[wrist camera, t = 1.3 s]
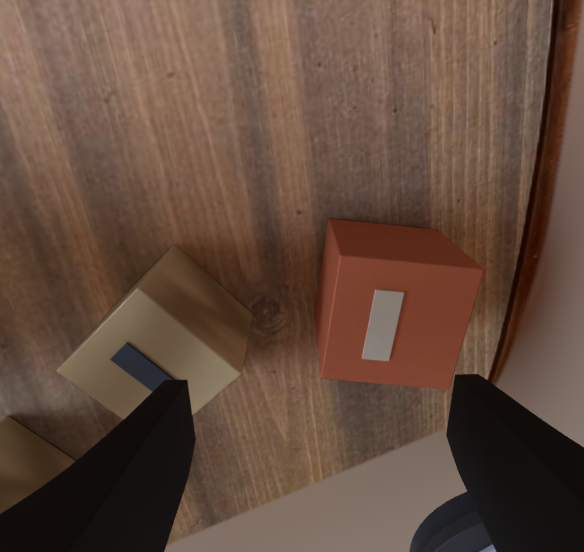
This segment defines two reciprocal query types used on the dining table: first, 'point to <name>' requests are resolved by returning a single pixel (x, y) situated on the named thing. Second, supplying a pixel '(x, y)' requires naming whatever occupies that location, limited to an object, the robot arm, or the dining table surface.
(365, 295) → the terracotta block
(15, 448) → the beech block
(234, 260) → the dining table surface
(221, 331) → the beech block
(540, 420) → the robot arm
